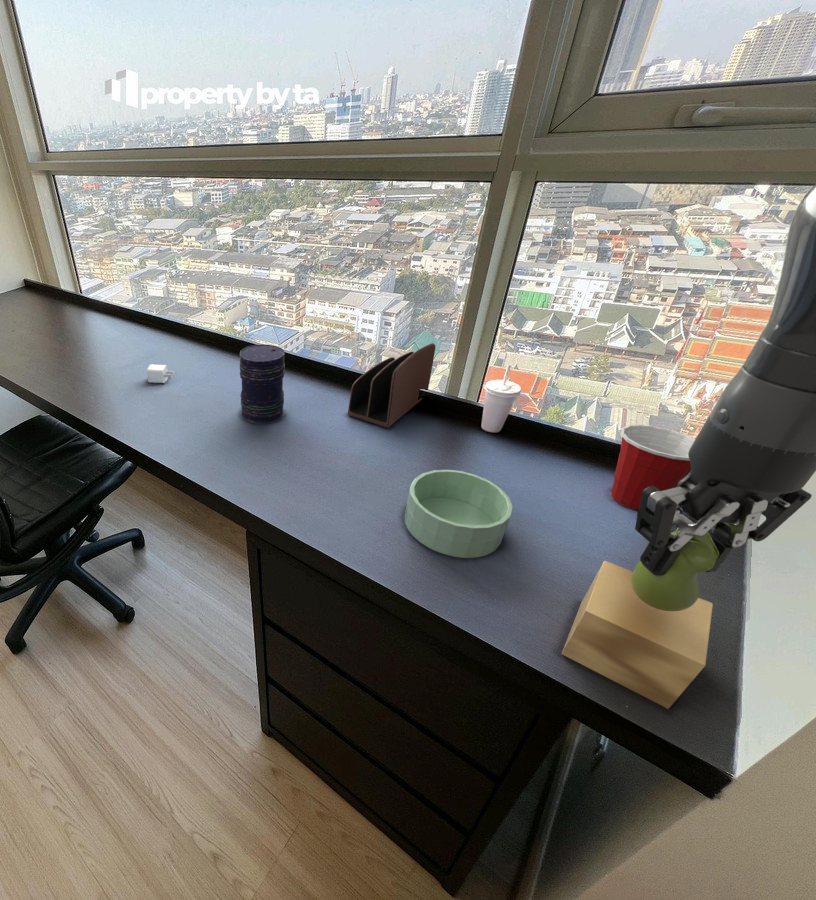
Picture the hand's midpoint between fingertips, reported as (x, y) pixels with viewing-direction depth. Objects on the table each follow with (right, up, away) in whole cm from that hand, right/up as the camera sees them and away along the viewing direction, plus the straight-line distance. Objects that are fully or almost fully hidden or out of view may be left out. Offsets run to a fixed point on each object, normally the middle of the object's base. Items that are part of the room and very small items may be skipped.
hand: (676, 567), depth 50 cm
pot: (-10, 0, +27) cm, 29 cm away
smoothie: (+10, +17, +51) cm, 55 cm away
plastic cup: (+22, +4, +30) cm, 38 cm away
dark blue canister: (-37, +21, +62) cm, 75 cm away
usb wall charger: (-62, +31, +80) cm, 106 cm away
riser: (+1, -12, +8) cm, 14 cm away
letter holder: (-8, +22, +62) cm, 66 cm away
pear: (0, -5, +3) cm, 6 cm away
